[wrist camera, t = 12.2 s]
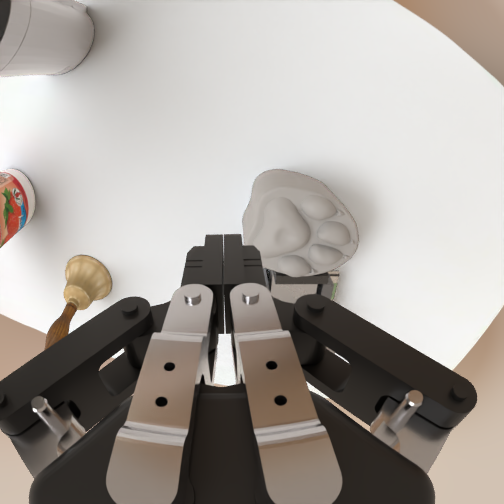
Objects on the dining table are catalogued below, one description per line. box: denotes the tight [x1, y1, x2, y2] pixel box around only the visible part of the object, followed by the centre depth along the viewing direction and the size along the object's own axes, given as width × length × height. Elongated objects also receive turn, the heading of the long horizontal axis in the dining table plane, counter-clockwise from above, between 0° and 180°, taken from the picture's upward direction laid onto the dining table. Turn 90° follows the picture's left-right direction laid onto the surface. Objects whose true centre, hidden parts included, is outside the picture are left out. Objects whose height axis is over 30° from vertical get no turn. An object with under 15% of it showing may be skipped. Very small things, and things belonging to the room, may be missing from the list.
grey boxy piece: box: [268, 270, 329, 303], centre depth 42 cm, size 9×11×6 cm
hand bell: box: [45, 255, 112, 350], centre depth 36 cm, size 8×8×16 cm
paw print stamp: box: [242, 169, 359, 277], centre depth 36 cm, size 10×13×9 cm
